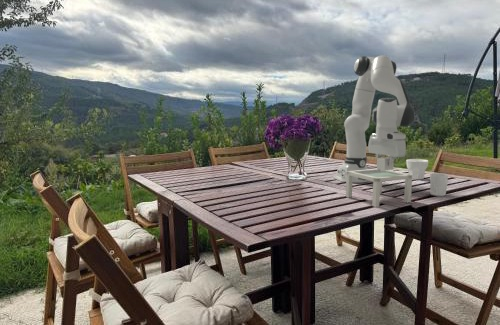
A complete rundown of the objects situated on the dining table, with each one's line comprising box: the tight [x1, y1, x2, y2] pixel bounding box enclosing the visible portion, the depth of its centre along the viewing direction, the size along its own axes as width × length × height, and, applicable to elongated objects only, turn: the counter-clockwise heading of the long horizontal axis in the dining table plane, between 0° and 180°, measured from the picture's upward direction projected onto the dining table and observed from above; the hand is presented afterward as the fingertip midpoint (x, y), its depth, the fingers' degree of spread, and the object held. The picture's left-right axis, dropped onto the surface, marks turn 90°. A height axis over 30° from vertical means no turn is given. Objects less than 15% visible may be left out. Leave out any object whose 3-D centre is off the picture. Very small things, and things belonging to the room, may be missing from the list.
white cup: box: [429, 172, 449, 197], centre depth 185 cm, size 8×8×10 cm
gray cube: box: [376, 157, 395, 171], centre depth 170 cm, size 5×5×5 cm
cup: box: [405, 158, 429, 180], centre depth 227 cm, size 12×12×11 cm
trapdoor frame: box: [345, 168, 413, 208], centre depth 175 cm, size 21×20×13 cm
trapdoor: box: [358, 171, 397, 181], centre depth 175 cm, size 14×14×3 cm
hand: (385, 164), depth 170 cm, fingers closed on gray cube, 5 cm apart
